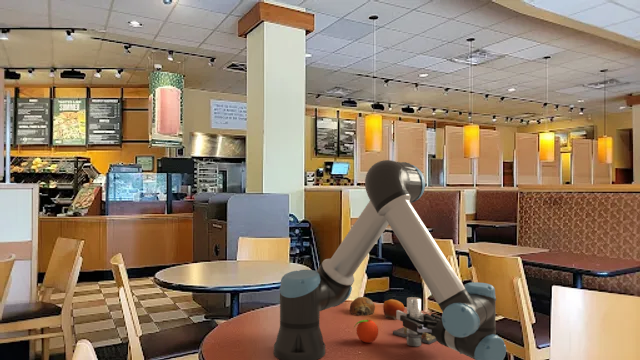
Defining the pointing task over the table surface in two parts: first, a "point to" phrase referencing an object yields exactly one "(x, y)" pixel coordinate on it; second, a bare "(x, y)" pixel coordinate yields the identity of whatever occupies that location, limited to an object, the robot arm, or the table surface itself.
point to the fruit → (392, 308)
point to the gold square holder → (425, 337)
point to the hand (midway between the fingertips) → (403, 313)
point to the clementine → (367, 330)
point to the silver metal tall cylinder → (415, 312)
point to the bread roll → (362, 306)
